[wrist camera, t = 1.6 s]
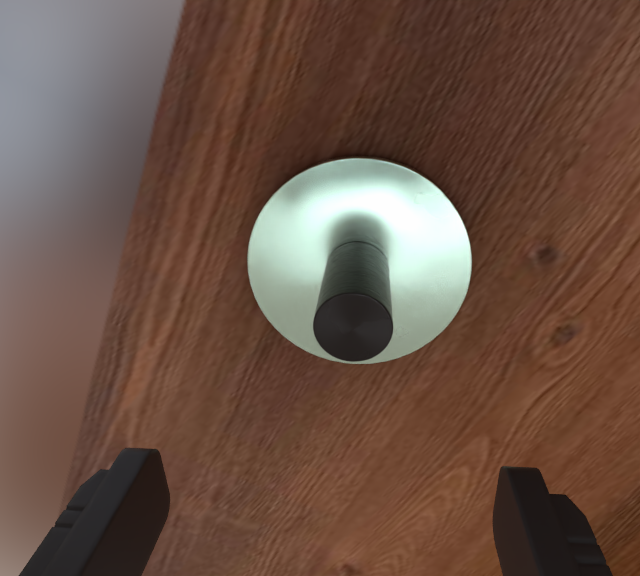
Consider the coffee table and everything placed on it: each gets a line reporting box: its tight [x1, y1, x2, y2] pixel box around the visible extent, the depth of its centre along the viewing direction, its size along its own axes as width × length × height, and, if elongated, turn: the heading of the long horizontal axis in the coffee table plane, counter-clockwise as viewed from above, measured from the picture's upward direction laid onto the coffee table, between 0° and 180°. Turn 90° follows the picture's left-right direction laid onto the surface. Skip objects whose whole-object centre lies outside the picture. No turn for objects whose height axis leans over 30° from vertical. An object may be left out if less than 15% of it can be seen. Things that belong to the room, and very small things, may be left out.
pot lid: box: [247, 156, 472, 364], centre depth 22 cm, size 11×11×7 cm
